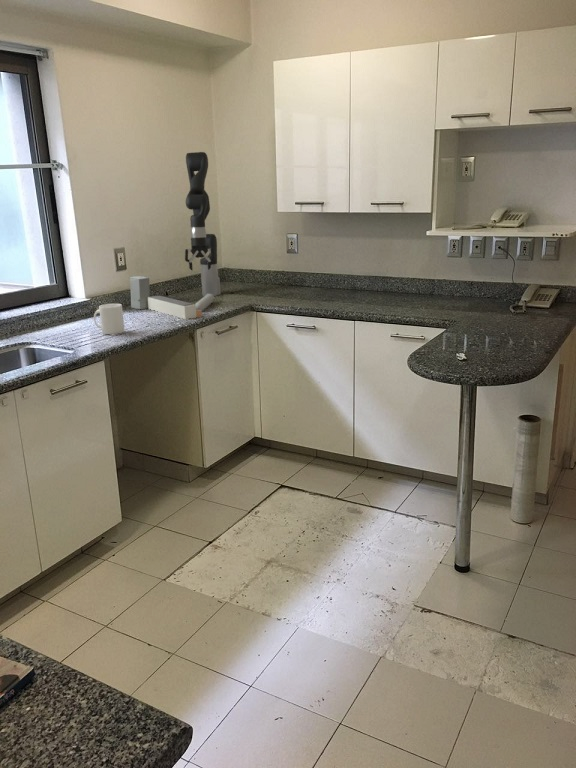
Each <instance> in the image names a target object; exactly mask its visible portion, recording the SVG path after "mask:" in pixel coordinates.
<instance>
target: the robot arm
mask: <svg viewBox="0 0 576 768" xmlns="http://www.w3.org/2000/svg"><path fill="white" fill-rule="evenodd" d="M185 163H186V169H187V170H186V171H187V174H188V181H189V191H188V194H187V195H186V198H185V207H186V208H187V209H188V210H191V211H192V213H193V214H192V215H190V218H189V219H190V221H189V222H190V245H191V248H190V249H188V248H185V250H184V261H185V262H187V263H188V268H189V270H190V271H193V261H194V259H195V258H200V260H199V264H200V277H201V291H202V292H201V293H202V295H201V296H203V297H204V296H206V295H207V294H212V295H213V296H214V297H217V296H220V295H221V279H220V277H219V272H218V271H219V270H218V239H217V237H216V235H215V233H207V231H206V220H207V218H208V215H209V213H210V210H211V205H210V197H209V195H208V192H206V190H205V182H206V178H207V175H208V174H207V173H208V170H209V158H208V154H207V152H205V151H197V152H187V153H186V155H185ZM195 172H196V173H195ZM190 253H191V255H190V258H189V254H190ZM207 253H209V254H207Z"/></svg>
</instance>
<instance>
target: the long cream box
mask: <svg viewBox="0 0 576 768" xmlns="http://www.w3.org/2000/svg"><path fill="white" fill-rule="evenodd" d="M148 307H149V308H148V310H150V309H151V311H153V310H155V311H154V312H157V311H158V313H161V312H162V314H164V313H165V314H164V315H168V314H169V316H171V315H173V316H172V317H175V316H177V317H176V318H178V317H180V319H182V318H183V320H190V319H189V318H191V319H196V317H197V318H201V317H203V313H202V312H203V311H202V310H197V311H196V305H195V304H193V303H192V302H187V301H182V300H179V299H175V298H171V297H167V296H163V295H160V294H159V295H152V296H151V295H150V297H148Z"/></svg>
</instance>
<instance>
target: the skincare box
mask: <svg viewBox="0 0 576 768" xmlns="http://www.w3.org/2000/svg"><path fill="white" fill-rule="evenodd" d="M129 283H130V284H129V285H130V286H129V287H130V307H131V309H136V310H140V309H141V310H146V309H145V308H148V309H149V307H148V297H151V291H150V290H151V288H150V277H146V276H142V275H141V276H140V275H137V276H130V277H129Z"/></svg>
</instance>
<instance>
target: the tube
mask: <svg viewBox="0 0 576 768" xmlns="http://www.w3.org/2000/svg"><path fill="white" fill-rule="evenodd" d="M215 300H216V299H215V296H213V295H212V294H207V295H206V296H203V297H202V298H200V299H199V300H198V301H196V302H195V304H194V305H196V311H197V310H202V312H203V311H205V310H206V309H207V308H208V307H210V306H211V305H212V304H213V303H214V302H215ZM211 303H212V304H211ZM204 309H205V310H204Z"/></svg>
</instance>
